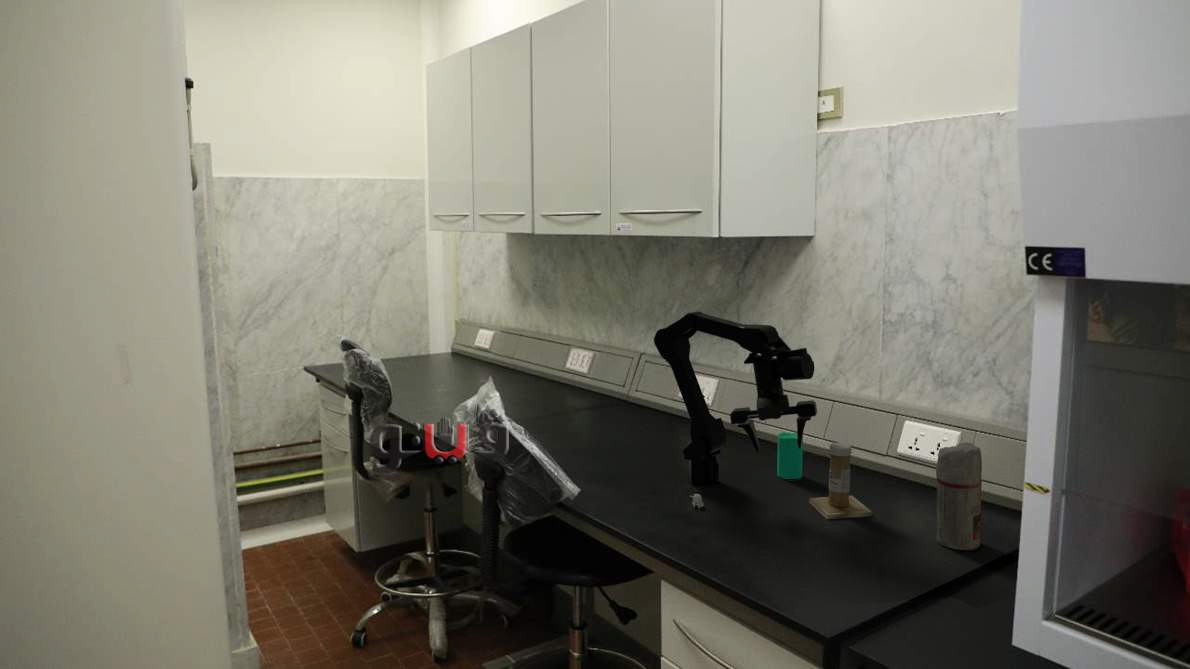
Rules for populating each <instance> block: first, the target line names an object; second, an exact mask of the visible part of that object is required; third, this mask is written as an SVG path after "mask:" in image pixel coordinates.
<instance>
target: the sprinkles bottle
mask: <svg viewBox="0 0 1190 669" xmlns="http://www.w3.org/2000/svg"><path fill="white" fill-rule="evenodd" d="M828 450H829V452H828V453H829V455H830V456H829V457H830V458H829V459H830V460H829V471H828V472H829V478H828V497H829V500H828V503H829V504H830V505H832V506H835V507H845V506H848V505H849V496H850V489H851V488H850V486H851V455H852V446H851V444H849V443H845V442H833V443H831V444H829V449H828Z"/></svg>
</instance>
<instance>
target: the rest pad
mask: <svg viewBox="0 0 1190 669" xmlns="http://www.w3.org/2000/svg"><path fill="white" fill-rule="evenodd" d="M808 499H809V500H808V503H809V504H810V505H811V506H812V507H813V506H814V507H815V508H814V507H813V508H814V509H815V510H816V511H817V512H819V513H820V514H821V515H822V516H823V517H824V518H825V519H826V520H833V519H835V520H836V519H837V520H838V519H850V518H864V517H865V518H866V517H872V516H873V511H872V510H871V509H869V508H868V507H867V506H865V504H863V503H862V502H860V501H859V500H858V499H857V498H856V497H854V495H849V505H848V506H845V507H835V506H832V505H830V504H829V503H828V500H829V496H826V497H825V496H824V497H823V496H821V497H809V498H808Z"/></svg>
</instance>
